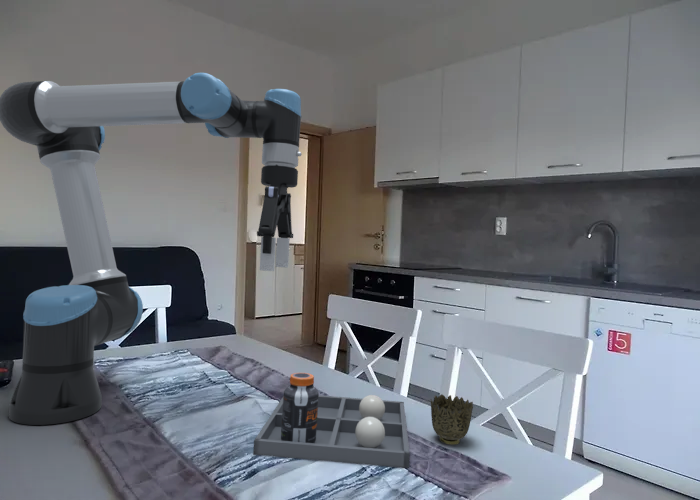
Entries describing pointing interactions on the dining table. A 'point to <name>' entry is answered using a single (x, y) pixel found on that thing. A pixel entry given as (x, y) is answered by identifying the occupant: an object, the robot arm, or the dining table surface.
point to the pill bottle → (300, 409)
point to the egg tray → (340, 435)
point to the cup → (451, 418)
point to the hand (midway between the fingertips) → (274, 269)
